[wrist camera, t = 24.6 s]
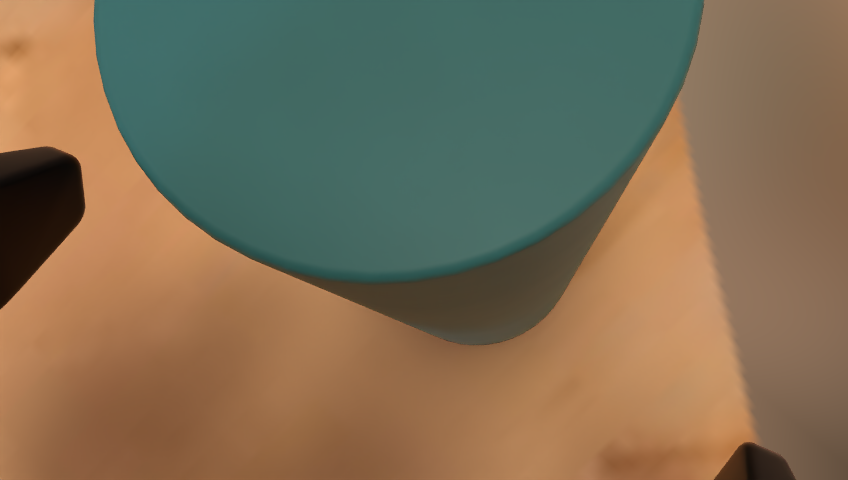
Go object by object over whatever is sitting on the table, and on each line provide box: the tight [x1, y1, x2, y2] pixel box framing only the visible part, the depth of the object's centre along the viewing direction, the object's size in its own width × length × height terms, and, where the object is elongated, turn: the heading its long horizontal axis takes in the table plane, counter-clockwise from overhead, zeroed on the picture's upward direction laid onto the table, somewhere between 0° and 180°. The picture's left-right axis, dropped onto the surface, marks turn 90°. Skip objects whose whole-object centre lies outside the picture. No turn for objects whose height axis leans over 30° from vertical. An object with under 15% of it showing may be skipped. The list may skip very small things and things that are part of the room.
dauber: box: [94, 0, 704, 345], centre depth 11 cm, size 4×4×13 cm
